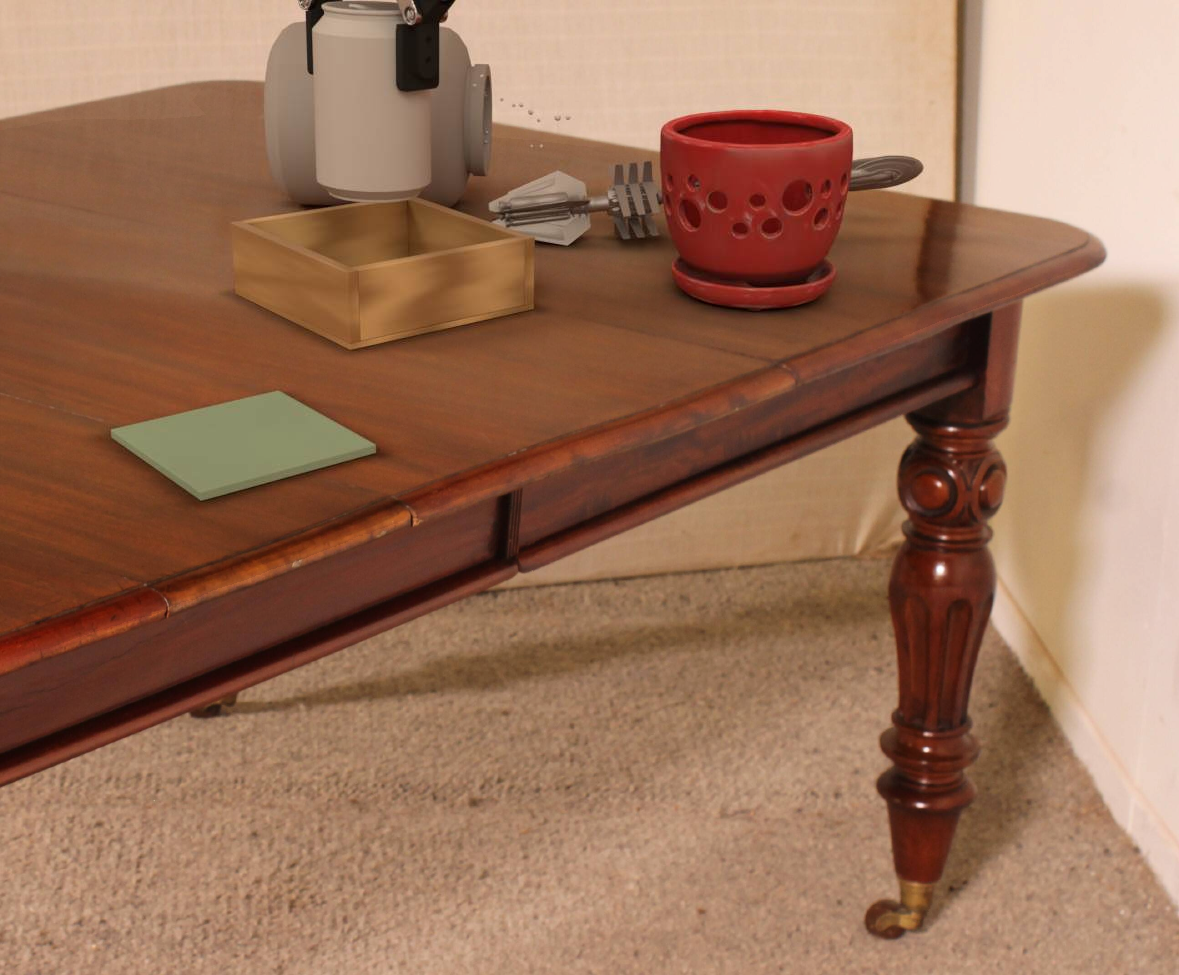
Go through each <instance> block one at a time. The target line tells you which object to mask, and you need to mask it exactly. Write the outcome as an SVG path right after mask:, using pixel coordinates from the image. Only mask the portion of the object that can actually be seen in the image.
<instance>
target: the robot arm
mask: <svg viewBox="0 0 1179 975" xmlns="http://www.w3.org/2000/svg"><path fill="white" fill-rule="evenodd" d="M335 1H344V0H297V2H298V6H299V8H300V9H301V10H303V11H305V21H306V43H307V70H308V73H309V74H311V75H313V42H312V28H313V27H314V26H315V25H316V24H317V22H318V21H319V20H320V19H321V18H322V16H323V15H324V10H323V9H322V7H321V5H322V4H324V3H327V2H335ZM456 1H457V0H396V3H398V6H399V8H400V11H401V14H402V16H403V19H404V21H405V23H404V24H396V86H397V88H398V90H400V91H404V92H411V91H419V90H427V89H435V88H437V87H438V85H439V26H440V24H444V23H445V22H447V20H448V18H449V10H450V8H452V6H453V5H454V4H455V2H456Z"/></svg>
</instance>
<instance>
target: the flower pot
mask: <svg viewBox="0 0 1179 975" xmlns="http://www.w3.org/2000/svg"><path fill="white" fill-rule="evenodd" d="M659 141H660V142H659V170H660V179H661V181H660V182H661V190H662V198H663V204H662V206H663V211H664V216H665V220H666V224H667V228H668V230H669V234H670V237H671V239H672V242H673V244H674V246H675V248H676V250H677V252H678V254H679V255H678V256H676V257H675V258H674V259H673V261H672V262H671V265H670V272H671V273H670V274H671V277H672V278H673V280H674V282H675V283H676V285H677V286H678V287H679V288H680V289H681V290H682V291H683V292H685V293H686V294H687V295H688V296H690V297H693V298H695V299H696V300H699V301H702V302H703V303H704V302H705V303H708V304H712V305H717V306H722V307H728V308H736V309H746V310H747V311H751V312H759V311H761V310H769V309H770V310H771V309H782V308H791V307H795V306H800V305H803V304H806V303H809V302H811V301H813V300H815V299H817V298H819V297H820V296H822V295H823V294H824V293H825V292H827V291H828V289H829V288H830V287H831V286H832V285H833V283H834V281H835V279H836V277H837V276H836V275H837V269H836V267H835V265H834V264H833V263H832V262H831V261H829V260H828V259H827V258H826V257H827V256H828V254H829V252H830V250H831V249H832V247H833V245H834V243H835V240H836V238H837V236H838V233H839V231H840V228H841V225H842V221H843V217H844V212H845V207H846V202H847V197H848V194H849V191H848V190H849V185H850V179H851V171H852V161H853V159H854V131H853V128H852V127H851V126H850V125H849V124H847V123H846V122H844V121H842V120H840V119H836V118H833V117H830V116H826V115H820V114H815V113H808V112H801V111H800V112H799V111H792V110H779V109H732V110H731V109H730V110H717V111H709V112H708V111H707V112H700V113H693V114H688V115H683V116H680V117H678V118H677V117H676V118H673V119H671V120H669V121H667V122H666V123H664V124H663V125H662V126H661V129H660V140H659ZM697 180H698V182H699V188H698V189H696V188H695V183H696V181H697ZM809 190H810V192H809Z"/></svg>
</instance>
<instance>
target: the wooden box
mask: <svg viewBox="0 0 1179 975" xmlns="http://www.w3.org/2000/svg"><path fill="white" fill-rule="evenodd" d="M230 235H231V250H232V264H233V276H234V277H233V278H234V293H235V295H237V296H239V297H241V298H243V299H245V300H247V301H249V302H251V303H253V304H256V305H258V306H259V307H262V308H263V309H265V310H268V311H270V312H272V313H273V314H275V315H277V316H280V317H282V318H284V319H286V320H288V321H290V322H292V323H294V324H296V325H298V326H300V327H302V328H305V329H307V330H309V331H311V332H313V333H315V334H317V335H319V336H320V337H323V338H325V339H327V340H329V341H330V342H333V343H335V344H338V345H339V346H341V347H343V348H345V349H347V350H349V351H352V350H357V349H361V348H365V347H370V346H375V345H380V344H384V343H389V342H393V341H396V340H401V339H406V338H410V337H411V338H412V337H415V336H420V335H424V334H429V333H432V332H438V331H442V330H447V329H451V328H455V327H459V326H464V325H469V324H473V323H478V322H482V321H486V320H490V319H497V318H501V317H506V316H509V315H514V314H518V313H523V312H527V311H532V310H535V262H536V261H535V255H536V254H535V253H536V251H535V250H536V248H535V247H536V240H535V237H532V236H529V235H526V234H523V233H521V232H518V231H515V230H512V229H509V228H506V227H503V226H500V225H497V224H494V223H492V221H488V220H485V219H482V218H479V217H476V216H473V215H470V214H468V213H464V212H462V211H459V210H455V209H453V208H451V207H449V208H447V207H444V206H441V205H438V204H435V203H432V202H429V201H427V200H424V199H421V198H418V197H416V198H413V199H410V200H405V201H400V202H389V203H365V202H360V203H354V204H347V205H341V206H334V205H333V206H328V207H322V208H315V209H309V210H303V211H296V212H289V213H282V214H276V215H275V214H274V215H270V216H264V217H256V218H249V219H244V220H237V221H231V222H230Z"/></svg>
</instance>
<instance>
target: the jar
mask: <svg viewBox="0 0 1179 975" xmlns="http://www.w3.org/2000/svg"><path fill="white" fill-rule="evenodd" d="M471 62H472V61H471V58H470V54H469V50H468V46H467V45H466V44H465V42H464V41H463V38H461V36H460V34H458V33H457V32H455V31H454V30H453V29H451V27H447V26H440V25H439V85H438V87H437V88H435V89H431V182H430V183H429V184H428V185H427V186H426V187H425V188H424V189H423V190H422V191H420V194H419V195H418V196H417V197H418V198H421V199H424V200H427V201H429V202H432V203H435V204H438V205H441V206H444V207H447V208H451V207H452V206H454V205H456V204H457V203H458V202H459V200H460V199H461V197H462V196H463V195H464V193H465V192H466V190H467V185H468V182H469V178H470V176H471V174H472V176H473V177H488V175H489V170H490V163H491V152H492V139H493V137H492V136H493V135H492V134H493V85H492V84H493V83H492V74H491V67H490V65H489V63H488V64H487V63H475V64H474V65H472V63H471ZM263 90H264V91H263V93H264V94H263V96H264V97H263V123H264V124H263V125H264V138H265V146H266V148H265V149H266V155H267V159H268V163H269V164H268V165H269V169H270V172H271V174H272V177H273V179H274V181H275V183H276V185H277V186H278V188H279V189H280V191H281V193H282V194H283V195H284V196H285V197H286V198H287V199H288V200H290V201H291V202H293V203H294V204H300V205H306V206H307V205H308V206H310V205H311V206H333V207H334V206H341V205H347V204H354V203H360V202H354V201H347V200H342V199H339V198H335V197H333V196H331V195H330V194H329V192H328V191H327V190H326V189H325V188H324V187H323V186H322V185H321V184H319V183H318V182H317V178H316V145H315V111H314V76H313V75H311V74H309V73H308V70H307V43H306V20H305V21H297V22H292V23H290V24H288V25H287V26H285V28H283V29H282V30H281V31H280V32H279V34H278V36H277V37H276V39H275V41H274V42H273V43H272V46H271V49H270V51H269V55H268V59H267V64H266V70H265V77H264V89H263ZM500 101H501V102H504V98H503V97H500ZM518 106H519V107H520V108H524V106H525V105H524V103H523V102H519V104H518ZM511 107H512V108H515V107H516V104H515V103H512V104H511ZM527 113H528V115H531V116H532V115H533V114H534V109H528V111H527ZM571 117H572V116H571V115H570V114H566V115H565V120H566V121H569V120H571ZM561 119H562V117H561V114H558V113H557V114H555V115H554V120H555V121H557V122H559V121H561ZM536 121H537V123H540V122H541V119H540V118H537V119H536ZM529 148H531V149H534V145H533V144H530V146H529ZM538 148H539V150H540V149H543V148H544V145H543V144H539V145H538Z"/></svg>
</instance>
